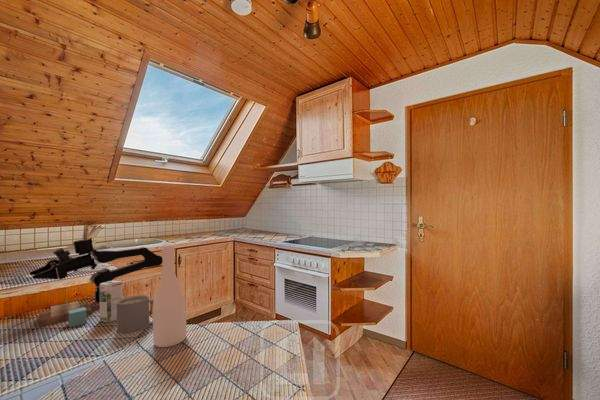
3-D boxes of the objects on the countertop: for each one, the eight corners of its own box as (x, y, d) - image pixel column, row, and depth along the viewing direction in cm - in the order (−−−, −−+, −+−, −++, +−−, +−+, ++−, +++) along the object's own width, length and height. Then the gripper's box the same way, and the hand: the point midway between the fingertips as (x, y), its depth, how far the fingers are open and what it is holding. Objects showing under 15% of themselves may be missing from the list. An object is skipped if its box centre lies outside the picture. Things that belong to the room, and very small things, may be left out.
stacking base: (88, 307, 123) (88, 298, 123) (91, 314, 113) (91, 304, 113) (39, 317, 112) (39, 308, 112) (38, 326, 102) (38, 316, 102)
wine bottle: (168, 350, 80) (166, 248, 81) (146, 345, 83) (143, 247, 84) (193, 336, 88) (190, 244, 90) (171, 332, 92) (169, 243, 93)
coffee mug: (123, 336, 91) (123, 306, 91) (112, 329, 97) (112, 301, 97) (164, 322, 102) (163, 295, 102) (151, 316, 108) (151, 291, 108)
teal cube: (85, 319, 108) (85, 306, 108) (86, 323, 104) (86, 309, 104) (68, 323, 104) (68, 310, 105) (69, 327, 101) (69, 313, 101)
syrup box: (98, 321, 105) (98, 283, 106) (114, 315, 111) (113, 279, 111) (108, 323, 103) (107, 284, 104) (123, 317, 108) (123, 280, 109)
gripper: (69, 244, 131) (24, 254, 119) (79, 248, 119) (30, 259, 107) (74, 266, 132) (29, 278, 120) (84, 272, 120) (36, 286, 109)
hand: (31, 275), depth 114 cm, fingers open, 9 cm apart
